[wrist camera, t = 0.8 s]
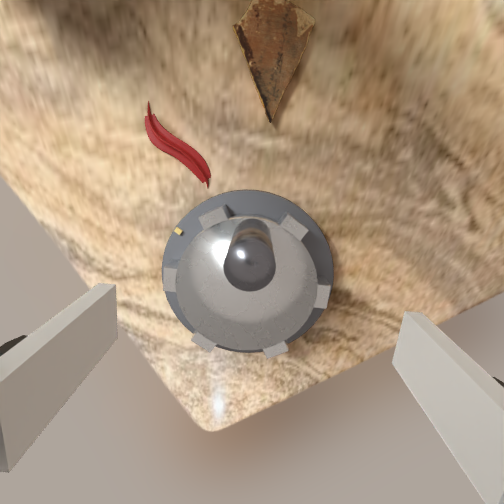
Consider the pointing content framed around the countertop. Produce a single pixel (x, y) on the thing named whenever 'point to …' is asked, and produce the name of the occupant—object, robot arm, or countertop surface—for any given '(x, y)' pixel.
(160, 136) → the cayenne pepper
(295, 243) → the tabbed dome lid
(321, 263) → the base plate
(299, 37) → the shard
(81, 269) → the countertop surface
